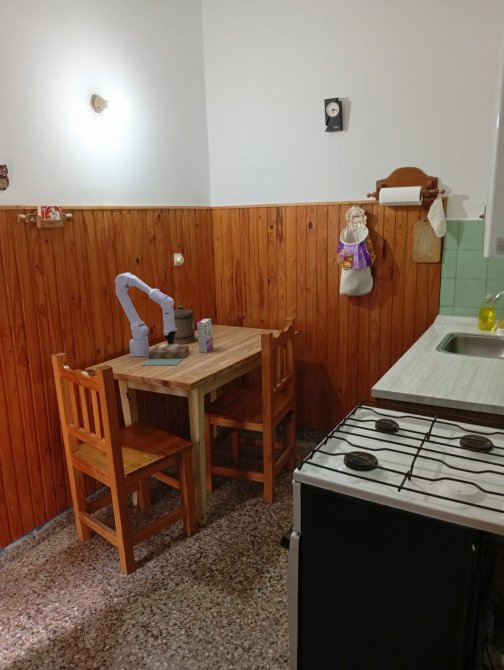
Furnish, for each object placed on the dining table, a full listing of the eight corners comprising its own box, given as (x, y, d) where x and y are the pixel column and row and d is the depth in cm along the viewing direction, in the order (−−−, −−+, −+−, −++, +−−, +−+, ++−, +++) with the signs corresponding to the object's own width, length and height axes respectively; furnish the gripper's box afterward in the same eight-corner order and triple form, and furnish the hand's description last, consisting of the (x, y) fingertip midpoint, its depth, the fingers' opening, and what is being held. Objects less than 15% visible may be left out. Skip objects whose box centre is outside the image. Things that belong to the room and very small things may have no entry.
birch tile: (158, 350, 248) (158, 346, 247) (162, 347, 253) (161, 344, 253) (175, 350, 246) (175, 346, 246) (178, 347, 252) (178, 343, 252)
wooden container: (200, 340, 284) (197, 303, 280) (181, 345, 274) (178, 307, 269) (184, 337, 294) (181, 302, 290) (164, 342, 284) (161, 305, 279)
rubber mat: (141, 365, 235) (141, 365, 235) (148, 359, 246) (148, 359, 246) (177, 365, 233) (177, 364, 233) (183, 359, 243) (182, 358, 243)
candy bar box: (204, 347, 266) (202, 318, 263) (213, 347, 265) (211, 318, 262) (198, 352, 255) (196, 322, 252) (207, 353, 254) (205, 322, 251)
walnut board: (149, 359, 246) (148, 352, 245) (156, 353, 258) (155, 346, 257) (183, 359, 244) (182, 351, 243) (189, 353, 255) (188, 345, 255)
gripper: (172, 322, 243) (174, 348, 246) (179, 317, 257) (181, 342, 260) (158, 323, 244) (161, 349, 247) (167, 318, 258) (169, 342, 261)
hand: (170, 345), depth 254 cm, fingers closed
